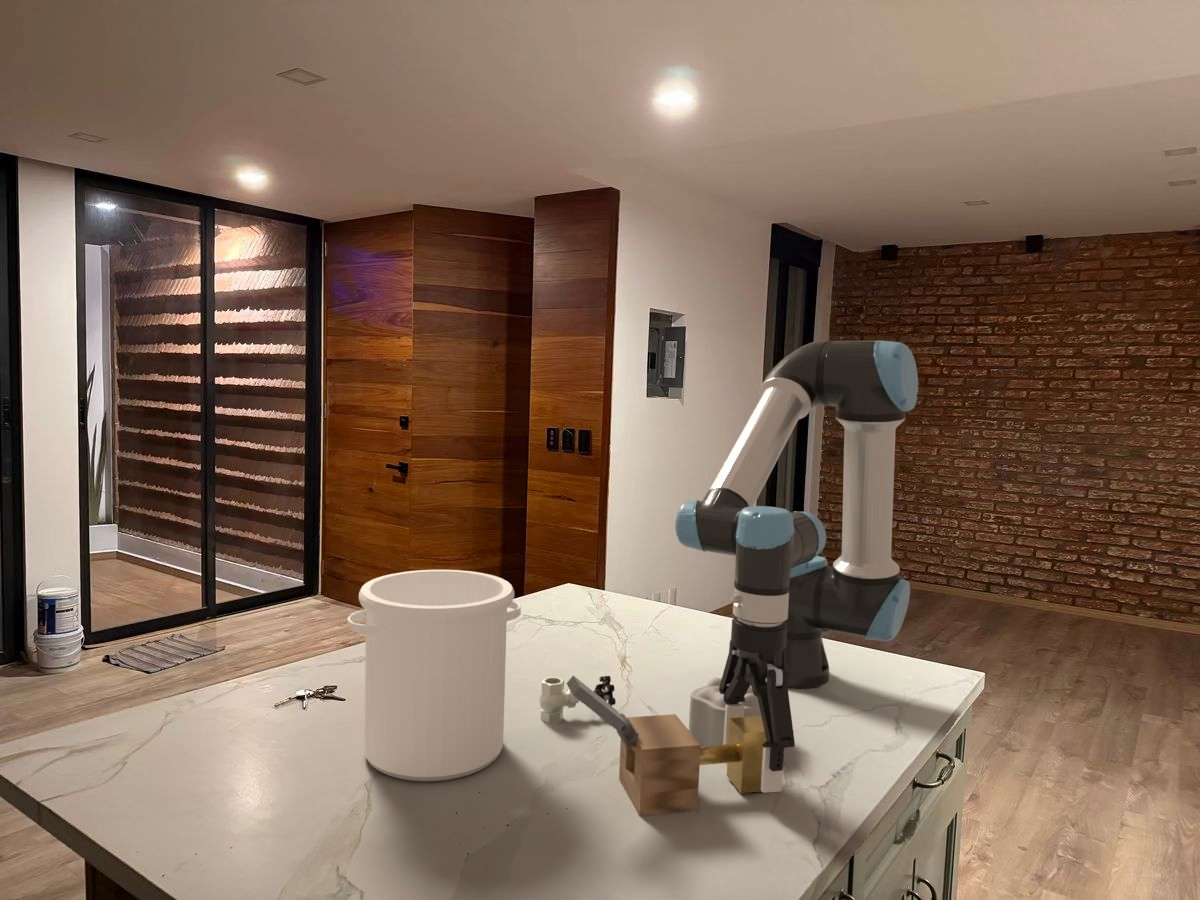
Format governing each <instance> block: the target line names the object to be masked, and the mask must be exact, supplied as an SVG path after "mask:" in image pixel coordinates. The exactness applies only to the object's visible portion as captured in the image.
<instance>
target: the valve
mask: <svg viewBox="0 0 1200 900" xmlns="http://www.w3.org/2000/svg"><path fill="white" fill-rule="evenodd" d="M611 681H612V679H611V676H610V675H604V676H603V675H602V676H599V682H600V683H598V684H596V685H595V687H594V690H592V691H593V692H595V693H596V694H597V695H598V696H600V697H601V698H602V699H603V700H605V701H606V702H607V703H608V704H610V705H611V706H612V707H613V706H614V705H615V706H616V698H615V697H614V695H613V692H614V691H615V685H614V684H611ZM601 682H602V683H601ZM564 690H565V680H564V679H562V678H561V677H556V676H552V677H551V676H549V677H545V678H544V679H542V682H541V694H540V697H539V706H540V708H541V710H540V721H542V722H544V723H547V724H556V723H557V724H558V723H561V721H562V720H563V719H564V707H567V708H568V709H573V708H575V707H576V706H577V704H579V702H580V704H583V703H582V702H581V701H580V700H578V699H577V698H576V697H575V696H573V694H572V693H571V691H570V689H569V688H568V689H566V690H565V691H564Z"/></svg>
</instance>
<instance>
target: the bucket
mask: <svg viewBox="0 0 1200 900" xmlns="http://www.w3.org/2000/svg"><path fill="white" fill-rule="evenodd" d="M512 585H513V584H511V583H510V582H509V581H507V580H505V579H504V578H502V577H499V576H497V575H494V574H488V573H483V572H477V571H473V570H472V571H470V570H461V569H421V570H420V569H419V570H409V571H403V572H402V571H401V572H397V573H396V572H395V573H391V574H387V575H382V576H379V577H376V578H373V579H371V580H369V581H366V582H365V583H364V584H363V585H362V586H361V588H360V589H359V593H358V601H359V603H360V605H361V607H362V608H364V609H361V610H358V611H357V610H356V611H355V612H352V613H350V614H349V615H348V617H347V628H348V629H349V630H350V631H352V632H354V633H355V634H360V635H364V636H365V649H364V652H365V654H364V655H365V657H364V658H365V660H364V725H363V726H364V727H363V728H364V729H363V731H364V732H363V733H364V734H363V741H364V742H363V751H364V755H365V757H366V760H367V762H368V763H369V764H370V766H371V767H373V769H375V770H377V771H379V772H380V773H382V774H384V775H387V776H388V777H392V778H395V779H399V780H404V781H411V782H425V783H426V782H429V783H431V782H442V781H449V780H456V779H460V778H464V777H467V776H469V775H473V774H475V773H477V772H479V771H481V770H483V769H485V768H487V767H488V766H489V765H491V764H493V763H494V761H496V760H497V758H498V757H499V755H500V754H501V751H502V748H503V746H504V729H505V728H504V726H505V725H504V724H505V694H506V691H505V689H506V687H505V686H506V658H507V657H506V656H507V654H506V652H507V624H508V623H507V622H510V621H512V620H515V619H518V618H519V617H520V616H521V613H522V608H521V607H522V606H521V604H520V603H519V602H517V601H515V600H514V598H515V590H514V587H513V586H512ZM509 608H510V609H512V610H510V611H508V609H509ZM364 619H365V624H362V623H356V622H358V621H360V620H364Z"/></svg>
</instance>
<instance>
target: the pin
mask: <svg viewBox="0 0 1200 900" xmlns="http://www.w3.org/2000/svg"><path fill="white" fill-rule="evenodd" d="M764 742H767V740H766V735H765V730H764V726H763V721H762V716H752V717H738V718H730V724H729V742H728V744H727V745H714V746H701V748H700V766H705V765H718V764H719V765H720V764H727V765H726V777H727V778H728V780H729V781H730V782H731V783H732V784H733V785H734V787H735V788H736V789H737V790H738V792H739V793H740V794H747V793H757V792H762V791H761V775H762V758H763V745H762V744H763V743H764Z"/></svg>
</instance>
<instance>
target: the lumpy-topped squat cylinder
mask: <svg viewBox="0 0 1200 900" xmlns="http://www.w3.org/2000/svg"><path fill="white" fill-rule="evenodd" d="M721 679H722V678H720V677H714V678H711V679H710V680H709V681H708V683H707V684H706V685H704V686H702V687H698V688H696V689H693V690H692V691H691V693H690V695H689V696H690V701H689V716H688V717H689V718H688V730H689V731H690V733H691V734H692V735H693V736H694V738H695V739H696V740H697V741H698V742H699V744H700V745H701V746H714V745H723V739H724V721H725V705H726V703H725V702H724V694H720V692H719V686H720V683H721ZM727 685H730V684H727ZM744 697H745V700H744V701H746V702H738V704H743V705H744V717H752V716H761V712H760V707H759V703H758V698H757V697H756V696H755V695H754V694H753V691H752V686H751V685H750V687H749V689H748V690H747V692H746V694H745V696H744Z"/></svg>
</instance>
